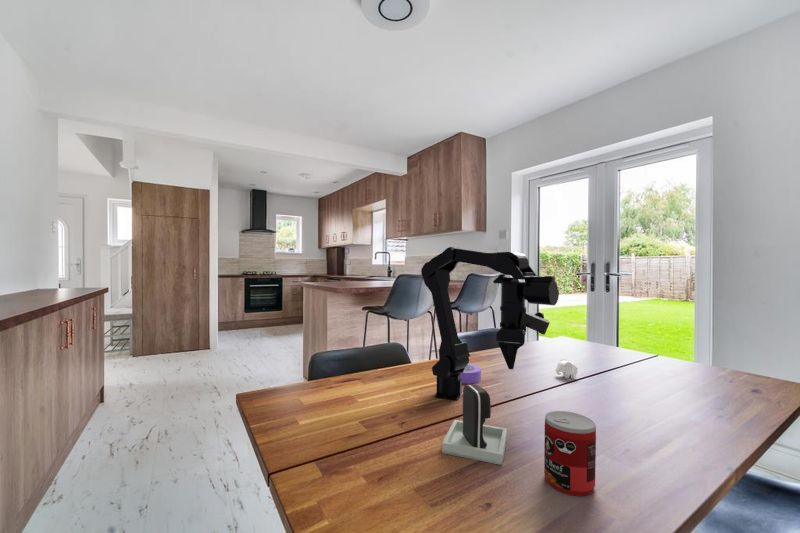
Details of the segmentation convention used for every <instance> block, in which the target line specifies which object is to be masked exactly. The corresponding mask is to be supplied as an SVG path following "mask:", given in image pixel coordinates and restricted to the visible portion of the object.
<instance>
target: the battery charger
mask: <svg viewBox="0 0 800 533" xmlns="http://www.w3.org/2000/svg"><path fill="white" fill-rule="evenodd" d="M491 407H492V405H491V396H490V394H489V392H487V391H486V389H484V388H483V387H481V386H480V385H478V384H467V385H464V387H462V421H463V435H464V437H465V438H466V439H467V441H468V442H469V443H470V444H471V446H472V447H476V448H486V447H487V443H486V442H485V440H484V439H483V425H485V422H486V419H487V420H488V419H490V418H491V417H492V416H491V411H492V410H491Z"/></svg>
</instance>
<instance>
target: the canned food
mask: <svg viewBox="0 0 800 533" xmlns="http://www.w3.org/2000/svg"><path fill="white" fill-rule="evenodd" d="M543 446H544V447H543V448H544V451H543V452H544V457H543V458H544V459H543V460H544V464H543V465H544V468H543V469H544V472H543V473H544V477H545V480H546V482H547V484H548V485H550V486H551V487H552V488H553V489H555V490H556V491H557V492H558V491H559V492H561V493H563V494H565V495H569V496H573V497H574V496H575V497H584V496H589V495H590V494H592V493H593V492H594V489H595V487H596V462H597V460H596V459H597V457H596V455H597V454H596V452H597V450H596V449H597V447H596V446H597V426H596V422H595V421H594V420H593V419H592V418H590V417H588V416H585V415H582V414H580V413H575V412H572V411H564V410H555V411H550V412H547V413H546V414H545V417H544V445H543Z"/></svg>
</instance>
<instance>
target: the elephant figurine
mask: <svg viewBox="0 0 800 533" xmlns="http://www.w3.org/2000/svg"><path fill="white" fill-rule="evenodd" d="M578 369H580V366H579V367H577V366H576V364H574V363H573V362H571V361H568V359H567V358H564V357H562V358H561V359H560V360H559V362H558V363H557V366H556V367H555V372H556V374H557V375H561V374H562V376H563V377H564V378H565V379H570V378H571V379H573V380H575V378H577V375H578ZM561 372H562V373H561Z"/></svg>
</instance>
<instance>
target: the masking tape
mask: <svg viewBox="0 0 800 533" xmlns="http://www.w3.org/2000/svg"><path fill="white" fill-rule="evenodd" d="M460 379H462V384H464V385H465V384H467V385H472V384H477V383H480V382H481V381H482V368H481V366H479V365H476V364H474V363H470V362H469V363H468V364H467V366H466V367H465V369H464V372H463V373H460Z"/></svg>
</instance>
